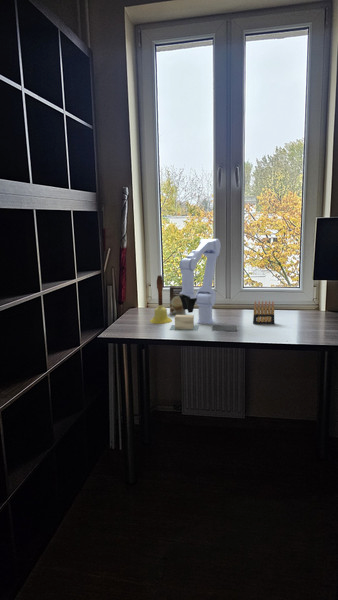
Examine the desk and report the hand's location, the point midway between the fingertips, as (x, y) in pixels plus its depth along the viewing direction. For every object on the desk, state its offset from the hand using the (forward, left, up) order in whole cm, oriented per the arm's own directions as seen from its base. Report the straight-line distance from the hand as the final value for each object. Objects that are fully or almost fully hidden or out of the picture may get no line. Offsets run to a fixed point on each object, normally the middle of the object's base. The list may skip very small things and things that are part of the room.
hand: (187, 310), depth 201 cm
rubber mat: (-5, +18, -10) cm, 21 cm away
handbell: (-18, -16, -10) cm, 26 cm away
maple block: (-5, -2, -10) cm, 11 cm away
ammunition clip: (-15, +38, -10) cm, 42 cm away
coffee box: (-37, -9, -10) cm, 40 cm away
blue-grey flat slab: (-5, -2, -10) cm, 11 cm away
